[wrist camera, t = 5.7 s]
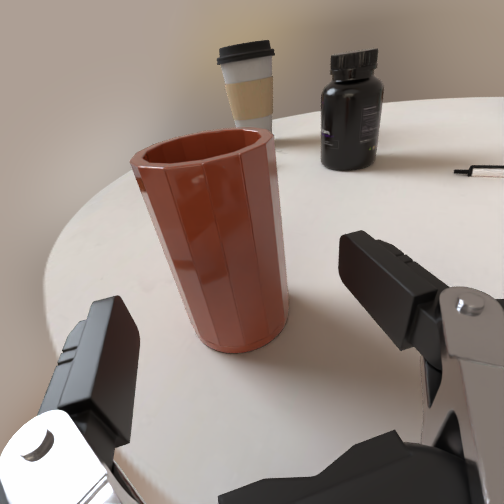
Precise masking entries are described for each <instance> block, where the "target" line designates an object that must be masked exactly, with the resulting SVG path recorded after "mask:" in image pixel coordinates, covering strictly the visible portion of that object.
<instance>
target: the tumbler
mask: <svg viewBox="0 0 504 504" xmlns="http://www.w3.org/2000/svg"><path fill="white" fill-rule="evenodd" d="M130 164H131V167H132V170H133V172H134V175H135V178H136V180H137V183H138V185H139V188H140V191H141V193H142V196H143V199H144V201H145V204H146V206H147V209H148V212H149V214H150V217H151V220H152V222H153V225H154V227H155V230H156V233H157V235H158V238H159V241H160V243H161V246H162V248H163V251H164V254H165V256H166V259H167V262H168V264H169V267H170V269H171V272H172V275H173V277H174V280H175V282H176V285H177V288H178V290H179V293H180V296H181V298H182V301H183V303H184V306H185V309H186V311H187V314H188V317H189V319H190V322H191V324H192V326H193V327H194V329H195V332H196V334H197V336H198V338H199V339H200V340H201V341H202V342H203V343H204V344H205V345H207V346H208V347H210V348H212V349H214V350H216V351H220V352H224V353H244V352H249V351H252V350H255V349H258V348H260V347H262V346H264V345H266V344H268V343H269V342H271V341H272V340H273V339H275V338H276V337H277V336H278V335H279V333H280V332H281V331H282V330H283V328H284V326H285V324H286V322H287V319H288V313H289V309H288V306H289V297H288V286H287V275H286V264H285V253H284V242H283V231H282V220H281V209H280V198H279V187H278V176H277V165H276V154H275V143H274V135H273V134H272V133H271V132H270V131H269V130H267V129H262V128H255V127H236V128H223V129H216V130H209V131H203V132H197V133H193V134H188V135H184V136H179V137H175V138H172V139H169V140H166V141H162V142H159V143H156V144H153V145H151V146H149V147H147V148H145V149H143V150H141V151H139V152H137V153H136V154H135V155H134V156H133V157H132V159H131V160H130Z"/></svg>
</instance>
